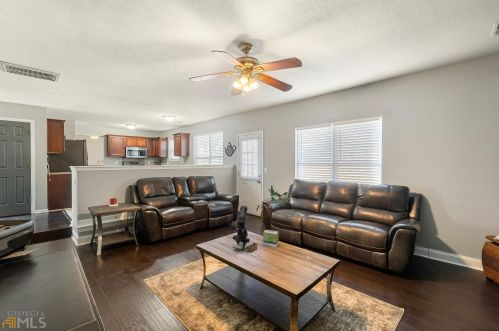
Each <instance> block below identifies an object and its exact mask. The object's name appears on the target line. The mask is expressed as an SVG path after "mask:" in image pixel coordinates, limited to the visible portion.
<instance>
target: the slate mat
mask: <svg viewBox="0 0 499 331" xmlns="http://www.w3.org/2000/svg"><path fill="white" fill-rule="evenodd" d="M233 251H235V252H238V253H242V252H243V251H246V246H245V247H244V248H241V249H239V248H236V247H235V248H233Z"/></svg>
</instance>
